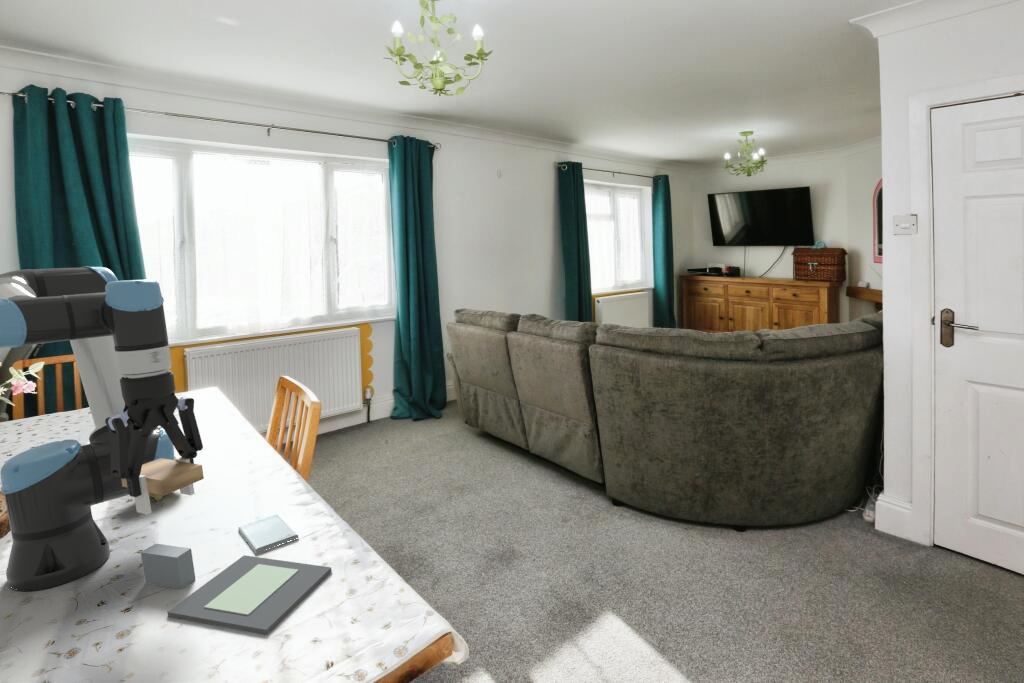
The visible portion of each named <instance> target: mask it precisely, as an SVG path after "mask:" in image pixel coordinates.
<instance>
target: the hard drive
mask: <svg viewBox="0 0 1024 683" xmlns="http://www.w3.org/2000/svg"><path fill="white" fill-rule="evenodd" d="M238 532H239V533H240V535H241V536H242V538H243V539H244V540H245V541H246V543H247V542H248V543H247V544H248V545H249V547H250V546H251V547H250V548H251V549H252V551H253V550H254V551H253V552H254V553H255V555H258V554H260V552H261V553H263V552H262V551H264V550H266V549H269V548H272V547H274V546H277V545H279V544H282V543H285V542H287V541H290V540H294V539H296V538H299V535H298V534H297V533H296V531H295V530H294V529H293V528H292V527H291V526H290V525H289V524H288V523H287V522H286V521H285V520H284V519H283V518H282V517H281V516H280V515H279V513H278V514H277V513H275V514H273V515H269V516H266V517H264V518H260V519H257V520H254V521H252V522H248V523H246V524H243V525H240V526H239V527H238ZM294 541H295V540H294ZM272 549H273V548H272ZM269 550H270V549H269ZM266 551H267V550H266ZM264 552H265V551H264ZM257 553H258V554H257Z"/></svg>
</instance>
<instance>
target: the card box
mask: <svg viewBox="0 0 1024 683" xmlns="http://www.w3.org/2000/svg"><path fill="white" fill-rule="evenodd" d="M140 475H145V476H146V481H147V487H148V492H151V493H156V494H160V495H163V496H166V495H169V494H171V493H174V492H176V491H178V490H180V489H181V488H183V487H186V486H188V485H190V484H193V485H194V484H196V483H197V482H200V481H201V480H203V479H205V477H204V470H203V465H202V464H198V463H194V464H193V463H187V462H181V461H175V460H169V459H163V458H159V459H157V460H154V461H151V462H148V463H146V464H143V465H142V468H141V473H140ZM121 481H122V486H123V487H127V481H126V478H125V479H121ZM127 488H128V487H127Z"/></svg>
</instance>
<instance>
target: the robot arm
mask: <svg viewBox="0 0 1024 683" xmlns="http://www.w3.org/2000/svg"><path fill="white" fill-rule="evenodd" d="M164 300H165V299H164V297H163V295H162V291H161V287H160V282H158V281H157V280H155V279H153V278H152V279H151V278H150V279H149V278H147V279H130V280H129V279H128V280H125V279H124V280H118V277H117V276H116V275H115V273H114V272H113V271H112V270H111V269H109V268H107V267H103V266H88V265H84V266H83V265H82V266H81V267H62V268H61V267H60V268H59V267H57V268H35V269H32V268H28V269H17V270H12V271H7V272H5V273H1V274H0V349H2V348H3V349H5V348H12V349H16V348H17V349H18V348H20V347H24V346H33V345H39V344H49V343H55V342H56V343H57V342H64V341H69V343H70V346H71V349H72V353H73V356H74V359H75V362H76V366H77V370H78V373H79V377H80V379H81V384H82V386H83V391H84V394H85V397H86V400H87V403H88V406H89V410H90V414H91V417H92V421H93V424H94V429H93V431H91V433H90V434H89V436H88V439H89V440H88V441H89V443H88V444H87V443H86V444H83V445H82V444H81V443H80V442H79V441H78V440H77V439H73V438H72V439H71V438H70V439H63V440H55V441H52V442H47V443H45V444H44V443H43V444H41V445H38V446H35V447H33V448H30V449H27V450H24V451H22V452H20V453H18V454H16V455H15V456H13V457H11V458H9V459H8V460H7V461H5V462H4V464H3V465H2V466H1V469H0V482H1V488H0V491H1V493H2V494H3V496H4V501H5V505H6V511H7V517H8V521H9V528H10V532H11V538H12V544H11V548H10V554H9V558H8V563H7V568H6V571H5V574H6V581H7V586H8V585H9V586H10V587H12V588H14V589H17V590H16V591H19V590H32V591H37V590H38V591H39V590H44V588H45V589H49V588H53V587H57V586H60V585H63V584H66V583H69V582H71V581H74V580H77V579H79V578H81V577H83V576H85V575H87V574H89V573H91V572H93V571H95V570H96V569H98V568H99V567H100V566H102V565H103V564H104V563H105V562H106V561H107V560H108V559H109V557H110V555H111V551H110V550H111V548H110V544H109V540H108V539H107V537H106V536H105V535H104V533H103V532H102V531H101V529H100V527H99V526H98V524H97V522H96V521H95V520H94V518H93V514H92V513H93V512H92V506H94V505H99V504H102V503H104V502H108V501H111V500H115V499H119V498H122V497H126V496H130V497H131V498H132V497H133V498H134V504H135V508H136V509H135V510H136V513H139V514H142V515H146V516H147V515H149V514H152V512H153V511H152V506H151V499H150V497H149V493H148V487H147V481H146V476H145V475H140V473H141V468H142V465H143V464H146V463H148V462H151V461H154V460H157V459H159V458H163V459H169V460H174V456H175V451H176V452H177V454H178V455H179V456H180V457H176V459H175V460H176V461H181V462H187V463H193V464H195V460H194V459H195V458H197V456H198V452H199V451H202V450H203V448H204V446H203V440H202V438H201V435H200V431H199V426H198V422H197V419H196V415H195V411H194V408H195V399H194V398H191V397H183V396H182V397H180V398H178V397H177V396H176V393H175V392H176V384H175V382H176V381H175V377H174V376H175V375H174V372H172V370H169V369H171V367H172V358H171V350H170V344H169V337H168V331H167V330H168V329H167V323H166V315H165V310H164V302H165V301H164ZM176 409H177V411H178V416H179V420H180V423H179V421H178V419H177V417H176V416H175V415H174V413H175V412H176ZM179 424H181V427H182V429H181V427H180V426H179ZM174 448H175V449H174ZM125 478H126V481H127V487H128V488H127V487H123V486H122V481H121V479H125ZM179 493H180V494H182V495H187V496H193V495H195V494H196V493H195V489H194V483H193V484H190V485H188V486H186V487H183V488H181V489H179ZM9 586H8V587H9ZM10 587H9V588H10ZM12 588H11V589H12ZM14 589H13V590H14Z"/></svg>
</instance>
